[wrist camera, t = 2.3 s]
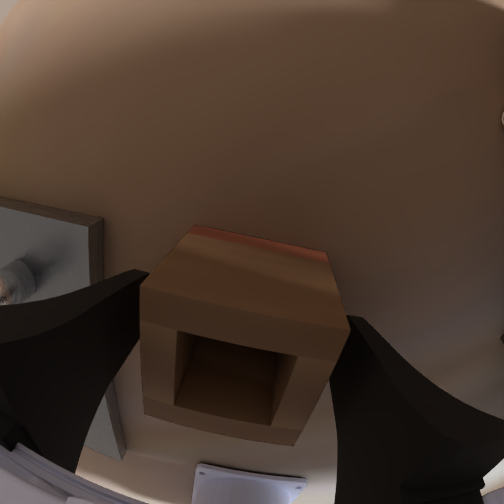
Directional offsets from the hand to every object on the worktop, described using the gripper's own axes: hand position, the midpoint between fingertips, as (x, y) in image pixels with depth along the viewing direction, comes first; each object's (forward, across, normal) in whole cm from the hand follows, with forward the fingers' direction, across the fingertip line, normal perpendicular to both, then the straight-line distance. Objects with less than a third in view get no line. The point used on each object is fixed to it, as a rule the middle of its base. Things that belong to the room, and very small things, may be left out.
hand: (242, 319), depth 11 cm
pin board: (+2, +11, +7) cm, 13 cm away
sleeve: (+2, 0, 0) cm, 2 cm away
